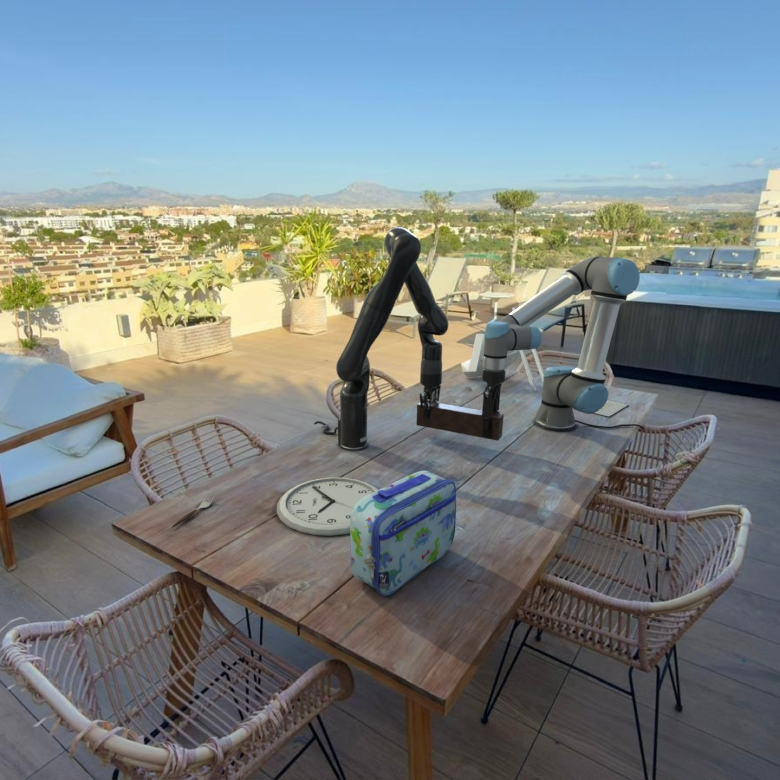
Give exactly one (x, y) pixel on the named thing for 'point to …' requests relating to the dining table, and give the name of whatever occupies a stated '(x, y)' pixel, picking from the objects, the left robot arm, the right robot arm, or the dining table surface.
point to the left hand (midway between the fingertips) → (429, 416)
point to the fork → (203, 505)
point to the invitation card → (610, 408)
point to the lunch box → (402, 530)
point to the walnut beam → (459, 420)
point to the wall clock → (322, 505)
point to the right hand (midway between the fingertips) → (489, 434)
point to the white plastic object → (476, 363)
